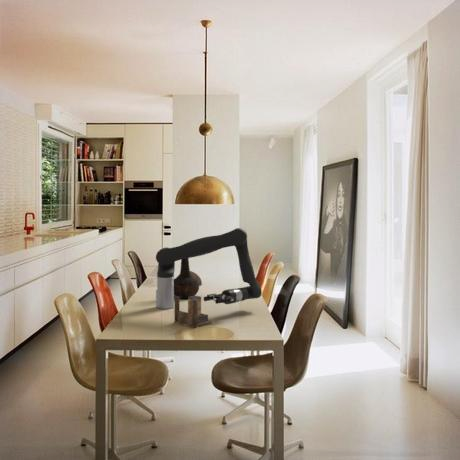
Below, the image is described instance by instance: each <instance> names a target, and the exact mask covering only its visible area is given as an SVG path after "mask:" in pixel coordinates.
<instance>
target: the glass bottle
mask: <svg viewBox="0 0 460 460" xmlns="http://www.w3.org/2000/svg"><path fill="white" fill-rule="evenodd" d="M189 259H190V258H185V259H181V260H180V269H179V270H180V272H179V274H180V275H179V277H178V276H176V277H177V278H176V277H174V297H175V296H179V299H188V297H191V296H197V294H198V293H199V290H200V286H199V283H198V281H197V280H196V279H194V278H193V277H192V276H191V274H190V271H191V270H190V262H189Z"/></svg>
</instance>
